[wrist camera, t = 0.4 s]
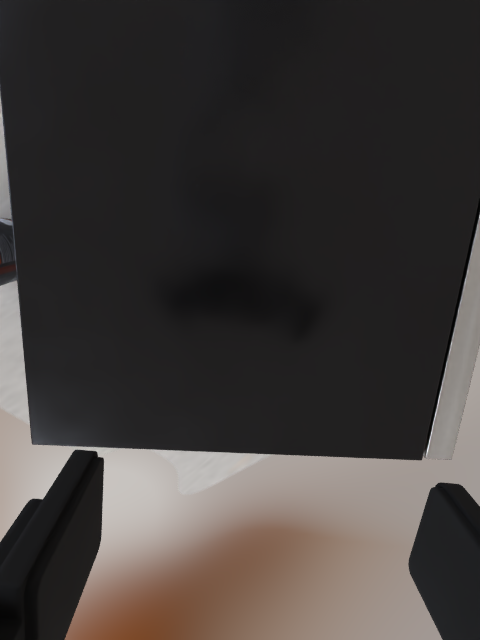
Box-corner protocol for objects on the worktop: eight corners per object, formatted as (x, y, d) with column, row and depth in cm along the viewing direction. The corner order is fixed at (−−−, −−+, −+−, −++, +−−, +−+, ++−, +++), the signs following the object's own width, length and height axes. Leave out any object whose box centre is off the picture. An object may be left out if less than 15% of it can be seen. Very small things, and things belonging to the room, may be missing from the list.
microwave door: (453, 128, 36) (700, 41, 17) (410, 349, 42) (559, 464, 23) (367, 121, 36) (521, 24, 17) (336, 345, 42) (425, 459, 23)
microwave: (406, 17, 34) (639, -236, 15) (355, 345, 42) (462, 462, 23) (119, -9, 33) (-38, -319, 14) (124, 333, 41) (31, 444, 22)
